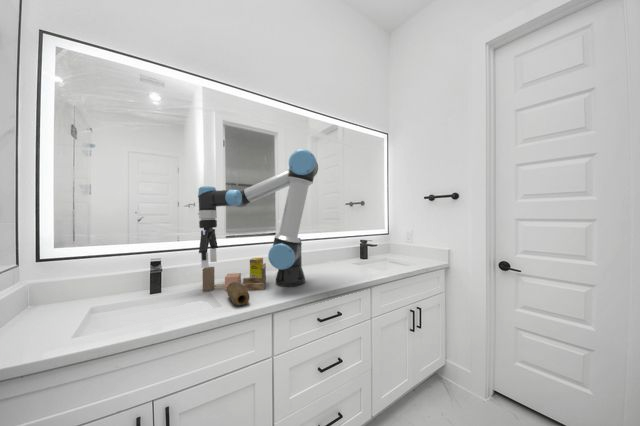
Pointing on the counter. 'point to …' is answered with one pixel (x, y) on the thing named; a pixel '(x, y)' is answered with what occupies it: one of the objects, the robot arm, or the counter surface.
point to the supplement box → (256, 267)
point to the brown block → (209, 279)
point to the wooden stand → (255, 281)
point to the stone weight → (237, 293)
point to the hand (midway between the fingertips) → (209, 264)
